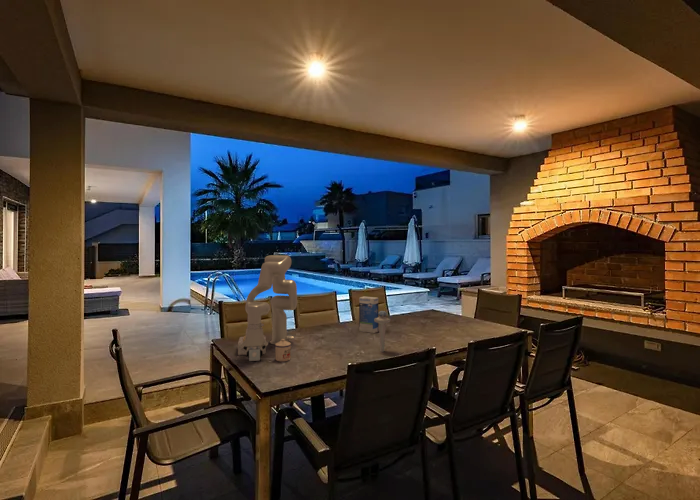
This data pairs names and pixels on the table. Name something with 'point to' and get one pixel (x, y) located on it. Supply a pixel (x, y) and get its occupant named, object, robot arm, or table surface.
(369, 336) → the table surface
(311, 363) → the table surface
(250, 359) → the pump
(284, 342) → the teacup with lid
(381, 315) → the novelty light stick
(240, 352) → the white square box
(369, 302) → the string lights box
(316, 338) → the table surface
